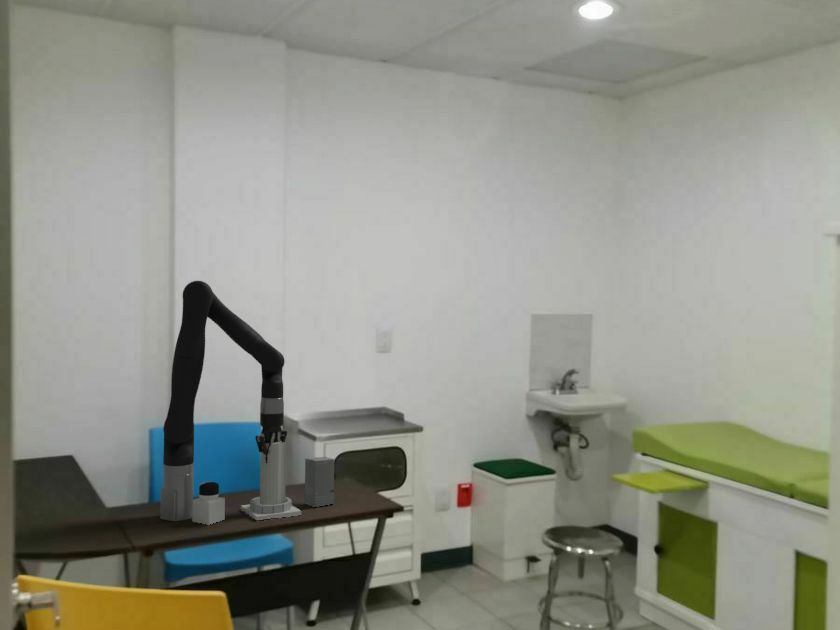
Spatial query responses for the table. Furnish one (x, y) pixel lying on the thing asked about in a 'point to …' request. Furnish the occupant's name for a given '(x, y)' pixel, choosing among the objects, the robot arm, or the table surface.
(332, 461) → the skincare box
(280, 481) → the paper towel roll
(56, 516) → the table surface
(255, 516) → the collar socket
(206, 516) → the medicine bottle
